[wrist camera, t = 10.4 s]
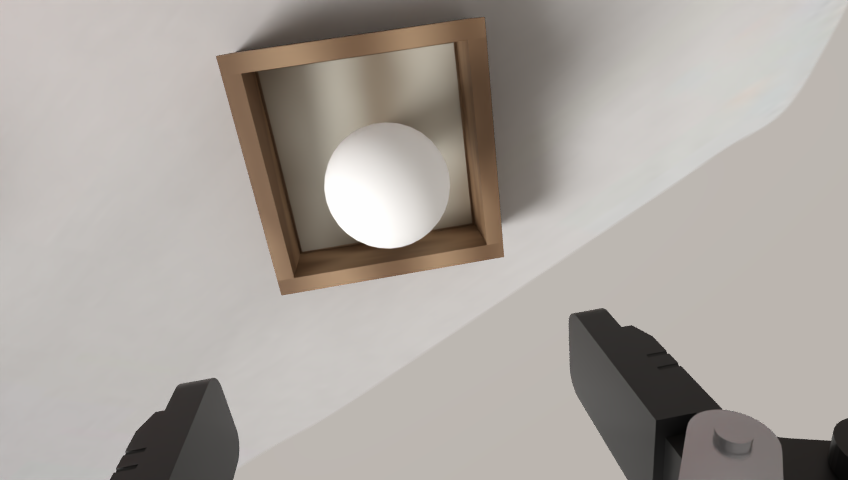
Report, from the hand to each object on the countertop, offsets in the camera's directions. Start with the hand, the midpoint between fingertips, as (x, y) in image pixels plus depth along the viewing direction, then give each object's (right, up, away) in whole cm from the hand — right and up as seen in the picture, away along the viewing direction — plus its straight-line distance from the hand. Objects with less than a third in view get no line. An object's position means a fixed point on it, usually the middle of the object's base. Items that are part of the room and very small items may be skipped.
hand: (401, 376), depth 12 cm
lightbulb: (-2, +9, +21) cm, 23 cm away
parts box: (-3, +9, +22) cm, 24 cm away
